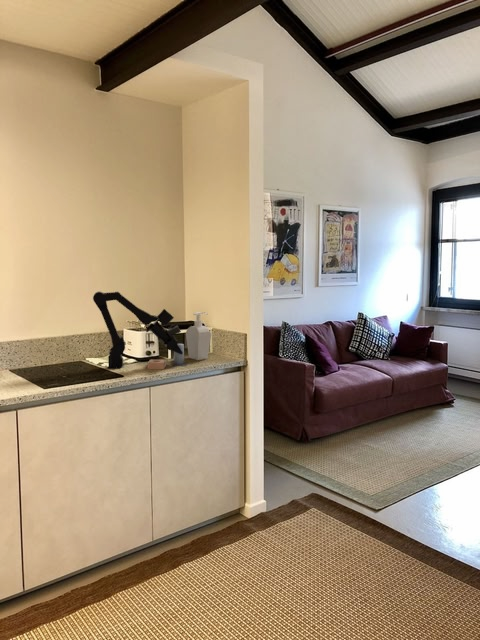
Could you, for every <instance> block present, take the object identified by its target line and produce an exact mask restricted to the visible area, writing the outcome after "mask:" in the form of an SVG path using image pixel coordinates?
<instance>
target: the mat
mask: <svg viewBox="0 0 480 640" xmlns="http://www.w3.org/2000/svg"><path fill="white" fill-rule="evenodd" d="M188 364H189V362H184V365H174V361H173V362H171V363H170V364H169V365H168V366H169V367H187V366H188Z"/></svg>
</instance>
